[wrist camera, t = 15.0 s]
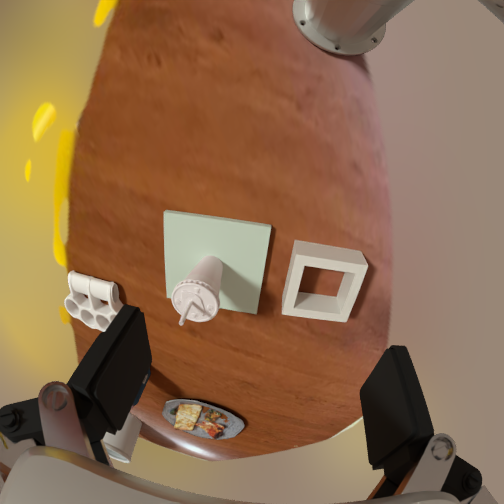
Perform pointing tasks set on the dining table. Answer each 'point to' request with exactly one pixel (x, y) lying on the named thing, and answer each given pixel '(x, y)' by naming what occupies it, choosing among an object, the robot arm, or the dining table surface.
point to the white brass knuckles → (92, 300)
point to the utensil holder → (123, 440)
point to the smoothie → (199, 291)
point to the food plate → (201, 419)
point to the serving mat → (218, 254)
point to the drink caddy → (326, 259)
